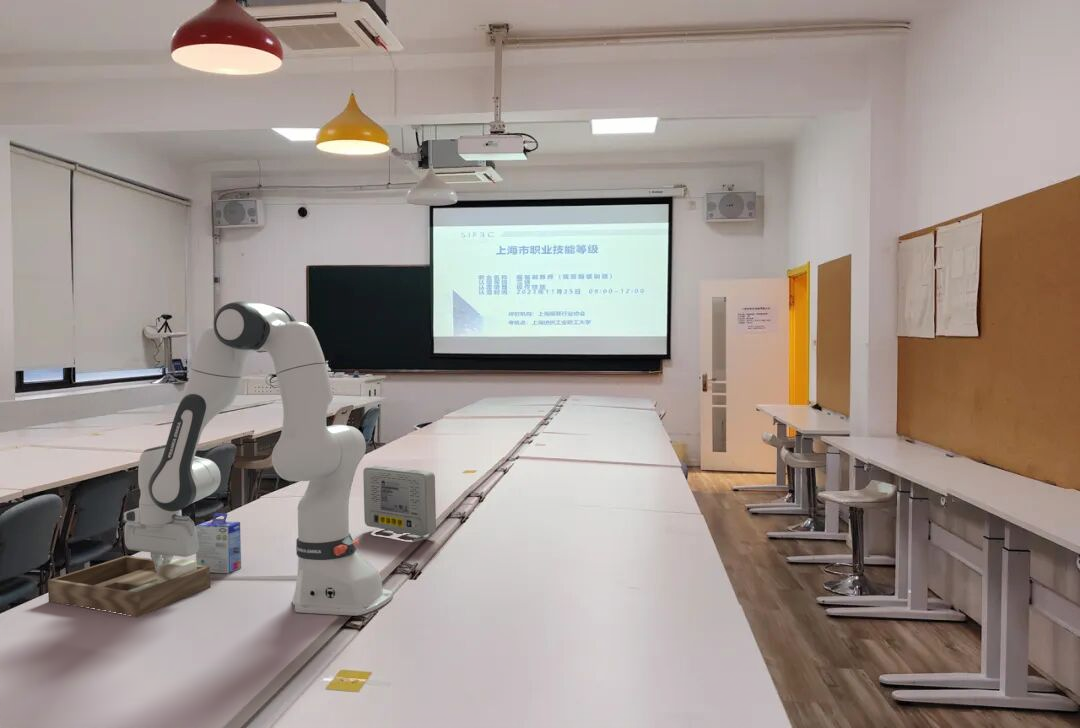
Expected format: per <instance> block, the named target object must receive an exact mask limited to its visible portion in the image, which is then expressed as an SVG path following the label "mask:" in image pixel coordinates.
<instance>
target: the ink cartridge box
mask: <svg viewBox="0 0 1080 728" xmlns="http://www.w3.org/2000/svg"><path fill="white" fill-rule="evenodd" d="M220 516H221V517H223V518H217V517H220ZM227 518H228V513H226V512H215V513H214V515H213V518H212V520H210V521H204V522H202V523H199V524H196V525H195V527H196V531H197V537H198V546H199V549H198V551H197V553H196V554H195V561H197V565H201V566H209V567H210V573H216V574H230V573H232V572H235V571H237V570H240V569H242V547H241V543H242V540H241V522H240V521H227Z"/></svg>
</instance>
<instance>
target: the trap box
mask: <svg viewBox="0 0 1080 728" xmlns="http://www.w3.org/2000/svg"><path fill="white" fill-rule="evenodd" d="M209 588H211V572H210V567H209V566H201V565H197V570H195V571H192V572H190V573H187V574H184V575H182V576H179V577H176V578H173V579H171V580H168V581H165V582H163V583H157V571H155V564H154V562H153V560H152V558H148V557H139V556H133V555H132V556H131V555H124V556H121V557H117V558H115V559H111V560H108V561H104V562H103V563H99V564H95V565H92V566H89V567H88V566H87V567H86V568H82V569H79V570H75V571H73V572H69V573H67V574H64V575H61V576H57V577H55V578H54V577H53V578H50V579H48V580H47V593H48V596H47V597H48V602H49V603H53V602H56V603H55V604H59V603H63V604H62V605H64V604H69V605H68V606H70V605H76V606H83V607H89V608H95V609H100V610H106V611H111V612H116V613H122V614H126V615H125V616H127V615H131V616H130V617H132V616H136V617H135V618H138V617H140V615H141V616H143V615H145V613H146V614H148V613H151V612H153V611H155V610H159V609H160V608H163V607H165V606H167V605H170V604H172V603H175V602H177V601H180V600H182V599H186V598H188V597H190V596H192V595H194V594H197V593H200V592H202V591H204V590H207V589H209ZM50 601H51V602H50ZM76 606H75V607H76ZM150 611H151V612H150ZM137 616H138V617H137Z"/></svg>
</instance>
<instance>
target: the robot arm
mask: <svg viewBox="0 0 1080 728" xmlns="http://www.w3.org/2000/svg"><path fill="white" fill-rule="evenodd" d="M253 352H256V353H268V354H269V355H270V357H271V359H272V362H273V366H274V370H275V375H276V381H277V383H278V388H279V393H280V398H281V403H282V409H283V410H282V411H283V419H282V428H281V432H280V437H279V438H278V441H277V442H276V444H275V445H274V447H273V450H272V453H271V461H272V462H271V463H272V467H273V469H274V471H275V473H276V474H277V475H278V476H279V477H280V478H282V479H283V480H285V481H288V482H308V485H307V488H306V490H305V492H304V494H303V495H302V497H301V498H300V500H299V501H298V504H297V535H298V536H297V539H296V542H295V543H296V546H295V548H296V556H297V557H298V559H297V562H298V563H297V572H296V573H297V574H296V575H297V576H296V584H295V589H294V593H293V597H292V604H293V605H294V612H295V613H300V614H301V613H303V614H304V613H305V614H317V615H318V614H320V615H321V614H322V615H334V616H337V615H340V616H361V615H364V614H368V613H371V612H373V611H375V610H377V609H379V608H381V607H383V606H384V605H386V604H387V603H389V602H390V601H391V600H392V598H393V590H389V589H385V588H383V583H382V578H381V574H380V571H379V570H378V568H376V567H375V566H373V565H372V564H371V563H369V561H367V560H366V559H365V558H364V557H363V556H362V555H361V554H360V553H359V552H357V551H356V550H357V548H356V546H357V545H359V544H360V542H359V541H360V538H358V539H355V540H353V538H352V535H351V533H350V532H349V529H350V528H349V518H350V517H349V516H350V515H349V506H350V503H349V502H350V501H349V500H350V495H351V490H352V485H353V482H354V481H353V480H354V478H355V474H356V471H357V468H358V467H359V464H360V462H362V460H363V458H364V456H365V454H366V449H367V443H366V439H365V436H364V435H363V433H362V432H361V431H360V430H359V429H358V428H356V427H354V426H350V425H346V424H333V425H328V426H327V413H328V408H329V406H330V404H331V403H332V401H333V398H334V392H333V388H332V384H331V383H332V382H331V380H330V376H329V371H328V368H327V363H326V359H325V355H324V352H323V350H322V347H321V344H320V342H319V340H318V336H317V335H316V333H315V330H314V329H313V327H312V326H310V325H309V324H308V323H306V322H303V321H297V320H296V319H295V317H294V316H293V315H292V314H291V313H290V312H289V311H287V310H285V309H284V308H282V307H278V306H272V305H268V304H265V303H261V302H246V301H234V302H229V303H226V304H225V305H223V306H222V307H220V308H219V309H218V310H217V312H216V314H215V316H214V319H213V325H211V326H208V327H207V328H205V329H204V330H203V331H202V333H201V336H200V338H199V340H198V342H197V345H196V348H195V352H194V354H193V357H192V362H191V366H190V370H189V371H190V372H189V375H188V379H187V384H186V387H185V391H184V393H183V396H182V398H181V400H180V402H179V405H178V407H177V409H176V411H175V415H174V418H173V421H172V425H171V426H170V430H169V434H168V437H167V440H166V444H163V445H159V446H155V447H150V448H147V449H145V450H144V451H143V452H141V454H140V457H139V461H138V472H137V475H138V476H137V477H138V479H137V481H138V488H139V491H140V497H139V500H138V501H139V502H138V507H136V508H134V509H130V510H127V511H126V512H124V513H123V520H124V521H125V523H124V530H123V531H124V544H125V547H126V548H127V550H129V551H136V552H144V553H150V559H152V560H153V562H154V564H155V571H157V566H158V565H160V564H163V563H166V562H169V561H172V560H173V559H174V557H182V558H187V557H190V556H193V555H196V553H197V551H198V549H199V546H198V537H197V531H196V525H195V522H194V520H193V519H191V517H190V516H188V515H182V510H183V509H184V508H186V507H188V506H189V505H191V504H193V503H195V502H198V501H200V500H202V499H205V498H206V497H208V496H211V495H212V494H213V493H215V492H216V491H217V490H218V489H219V488H220V485H221V484H222V483H221V482H222V472H221V470H220V467H219V466H218V464H217V463H216V462H215V461H214V460H212V459H211V458H208V457H207V458H206V457H200V456H196V453H197V449H198V446H199V442H200V439H201V436H202V433H203V431H204V429H206V426H207V425H208V424H209V422H211V421H212V420H213V419H214V418H215V417H216V416H218V414H220V413H221V412H222V411H224V410H226V409H227V408H228V407H229V406H231V405H232V404H233V403H234V401H235V399H236V397H237V394H238V391H239V389H240V385H241V381H242V375H243V369H244V365H245V362H246V359H247V357H248V356H249V355H250V354H251V353H253Z"/></svg>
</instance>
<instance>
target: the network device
mask: <svg viewBox="0 0 1080 728" xmlns="http://www.w3.org/2000/svg"><path fill="white" fill-rule="evenodd" d="M362 474H363V475H362V477H363V505H364V506H363V511H364V513H363V514H364V515H363V516H364V524H365V525H366V527H370V528H377V529H387V530H386V531H392V530H393V533H396V534H403V533H410V534H409V535H416V536H419V537H416V538H413V540H412V539H411V540H412V541H413V542H412V543H419V542H420V541H424V540H426V539H429V536H430V535H431V534H434V533H435V532H436V530H437V515H436V514H437V510H436V509H437V508H436V505H437V503H436V502H437V501H436V476H435V473H434V472H433V471H429V470H419V469H410V468H401V467H400V468H399V467H392V466H383V465H372V466H371V465H370V466H368V467H364V468H363V473H362Z"/></svg>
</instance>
